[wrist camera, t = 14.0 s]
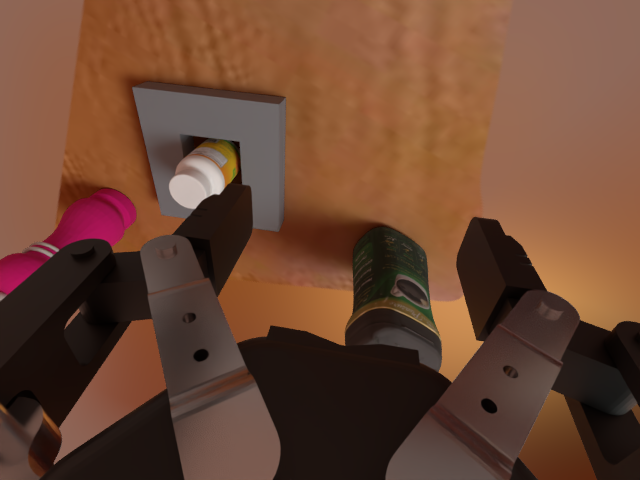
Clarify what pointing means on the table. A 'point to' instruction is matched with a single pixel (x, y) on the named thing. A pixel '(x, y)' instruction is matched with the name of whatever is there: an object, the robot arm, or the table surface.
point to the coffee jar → (392, 296)
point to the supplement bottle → (205, 172)
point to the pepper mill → (71, 234)
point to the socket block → (220, 123)
